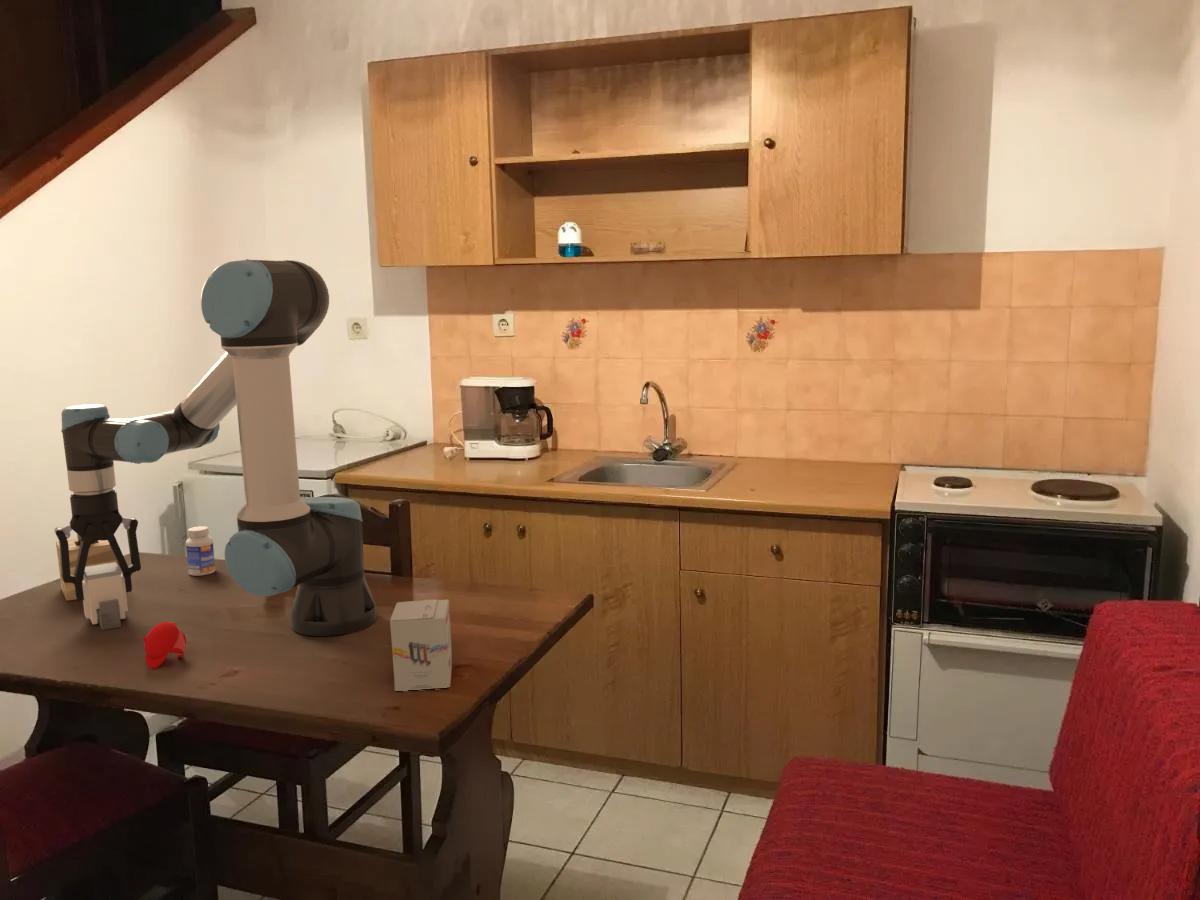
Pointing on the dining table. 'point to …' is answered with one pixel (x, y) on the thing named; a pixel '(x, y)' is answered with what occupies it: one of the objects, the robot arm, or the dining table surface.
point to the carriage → (104, 587)
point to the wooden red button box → (96, 556)
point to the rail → (108, 614)
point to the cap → (163, 643)
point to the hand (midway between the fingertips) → (106, 612)
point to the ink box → (421, 645)
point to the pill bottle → (200, 552)
